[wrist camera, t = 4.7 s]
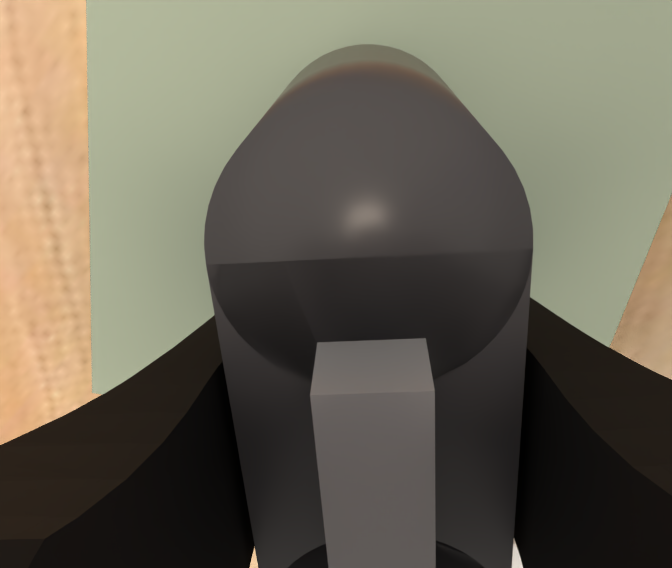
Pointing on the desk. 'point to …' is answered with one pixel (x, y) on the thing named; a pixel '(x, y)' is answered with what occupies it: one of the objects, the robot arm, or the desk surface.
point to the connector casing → (373, 320)
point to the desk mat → (438, 53)
